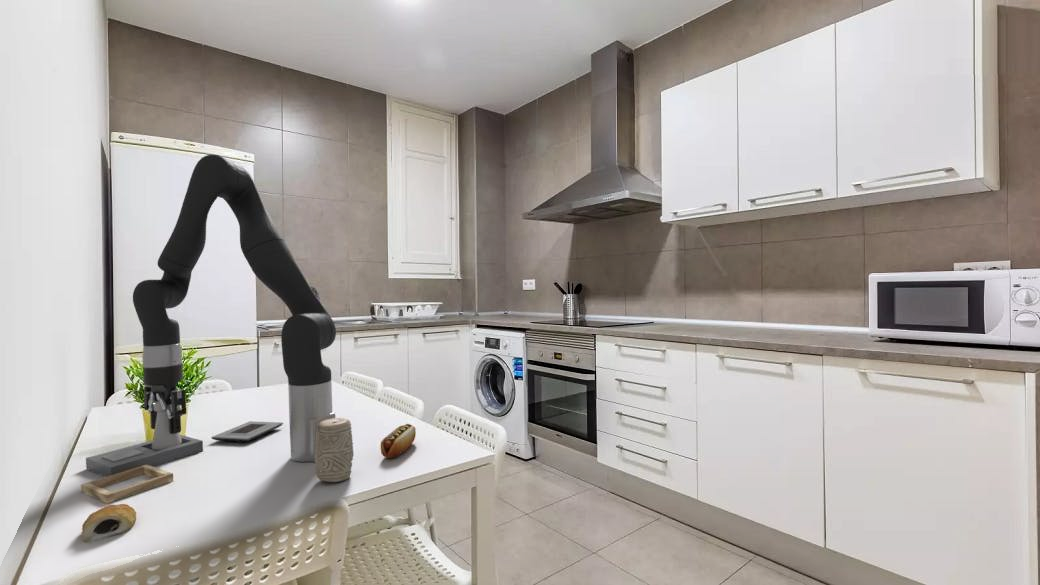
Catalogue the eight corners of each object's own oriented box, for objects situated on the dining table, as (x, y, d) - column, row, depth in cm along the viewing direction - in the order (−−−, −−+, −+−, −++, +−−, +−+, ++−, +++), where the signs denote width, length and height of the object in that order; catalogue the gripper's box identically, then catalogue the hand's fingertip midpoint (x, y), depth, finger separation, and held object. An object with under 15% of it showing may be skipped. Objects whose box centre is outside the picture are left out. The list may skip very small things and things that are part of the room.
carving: (360, 476, 98) (358, 419, 97) (325, 489, 92) (323, 428, 92) (344, 469, 102) (342, 414, 101) (309, 481, 96) (307, 422, 96)
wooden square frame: (173, 480, 98) (173, 473, 98) (107, 503, 88) (106, 495, 88) (146, 471, 103) (146, 464, 103) (81, 491, 93) (81, 484, 93)
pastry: (89, 522, 82) (88, 500, 82) (139, 510, 86) (138, 489, 86) (79, 546, 74) (79, 522, 74) (135, 532, 78) (134, 509, 78)
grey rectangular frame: (203, 450, 115) (202, 439, 115) (111, 479, 99) (110, 466, 99) (176, 443, 121) (176, 433, 121) (86, 469, 105) (85, 457, 105)
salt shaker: (186, 452, 114) (184, 398, 114) (158, 460, 109) (156, 404, 109) (175, 448, 117) (172, 396, 117) (147, 455, 112) (145, 401, 112)
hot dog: (420, 442, 118) (419, 422, 118) (398, 462, 105) (398, 440, 105) (401, 441, 119) (400, 421, 119) (377, 461, 106) (377, 439, 106)
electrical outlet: (248, 447, 119) (247, 437, 118) (211, 445, 120) (211, 435, 120) (283, 430, 131) (283, 421, 131) (250, 428, 133) (249, 420, 133)
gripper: (196, 362, 113) (199, 430, 113) (165, 358, 119) (168, 422, 120) (160, 368, 106) (163, 439, 107) (129, 363, 113) (132, 431, 113)
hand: (165, 430), depth 113 cm, fingers open, 8 cm apart
